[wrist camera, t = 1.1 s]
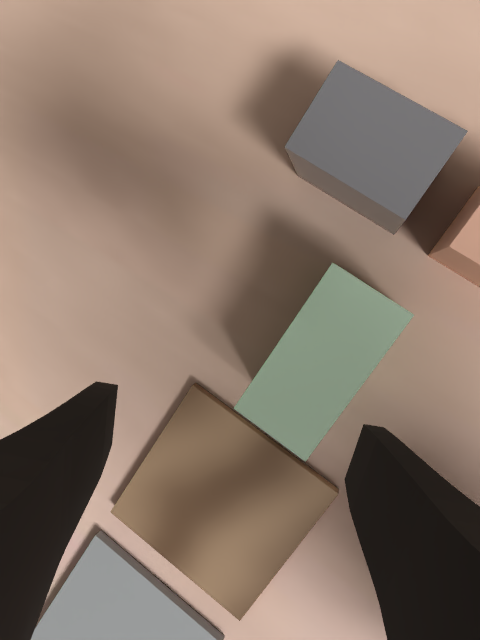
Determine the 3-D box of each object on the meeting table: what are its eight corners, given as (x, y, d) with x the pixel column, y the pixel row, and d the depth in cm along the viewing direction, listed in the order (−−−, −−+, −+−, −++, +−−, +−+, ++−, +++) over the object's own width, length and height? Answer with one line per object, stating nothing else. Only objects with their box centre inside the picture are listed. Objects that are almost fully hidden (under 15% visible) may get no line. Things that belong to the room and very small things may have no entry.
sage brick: (400, 309, 23) (414, 314, 18) (314, 427, 24) (305, 461, 19) (336, 268, 23) (332, 262, 19) (256, 385, 25) (233, 408, 20)
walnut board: (338, 488, 24) (338, 493, 23) (242, 613, 26) (239, 620, 25) (196, 383, 26) (192, 384, 25) (115, 507, 28) (110, 511, 27)
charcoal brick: (441, 166, 22) (467, 131, 17) (393, 235, 22) (405, 219, 18) (340, 108, 23) (338, 59, 18) (298, 176, 24) (284, 147, 19)
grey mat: (224, 636, 26) (221, 643, 26) (143, 740, 28) (139, 749, 28) (100, 530, 28) (95, 535, 27) (32, 635, 30) (26, 642, 29)
